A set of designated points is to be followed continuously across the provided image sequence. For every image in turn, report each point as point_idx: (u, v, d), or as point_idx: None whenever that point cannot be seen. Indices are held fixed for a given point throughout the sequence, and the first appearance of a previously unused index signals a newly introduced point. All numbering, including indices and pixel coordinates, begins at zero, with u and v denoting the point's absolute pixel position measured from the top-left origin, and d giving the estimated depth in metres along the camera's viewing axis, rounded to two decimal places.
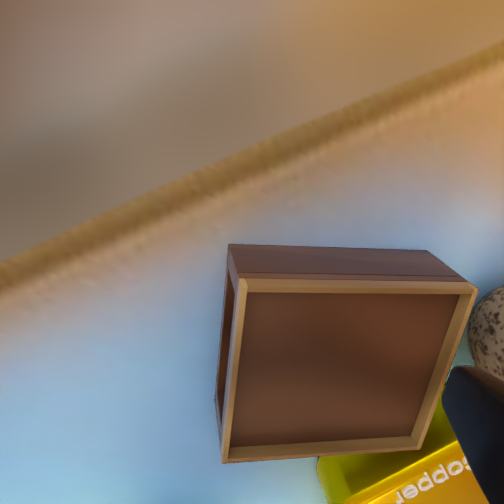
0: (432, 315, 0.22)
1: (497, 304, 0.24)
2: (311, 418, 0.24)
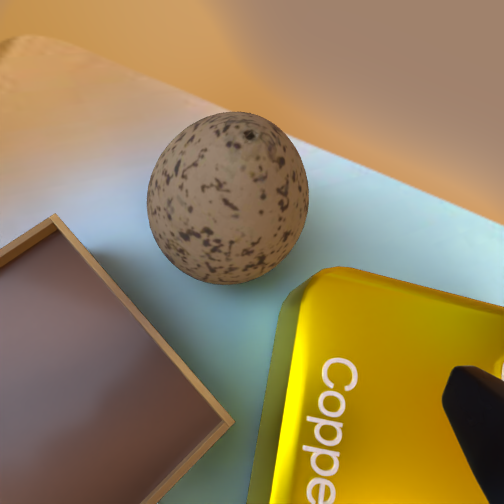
0: (59, 277, 0.17)
1: None
2: None
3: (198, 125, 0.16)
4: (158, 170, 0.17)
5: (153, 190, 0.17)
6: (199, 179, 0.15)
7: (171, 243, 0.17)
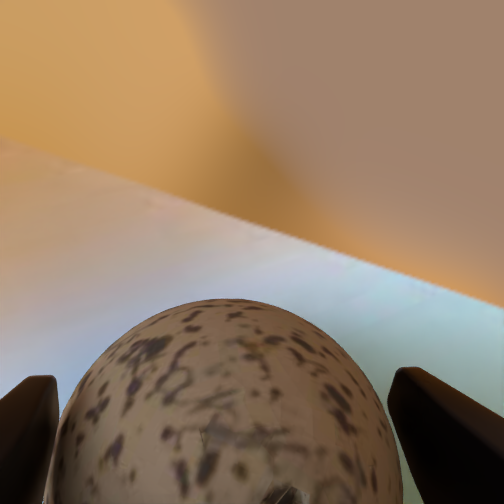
0: None
1: None
2: None
3: (137, 393, 0.06)
4: (52, 472, 0.07)
5: None
6: None
7: None
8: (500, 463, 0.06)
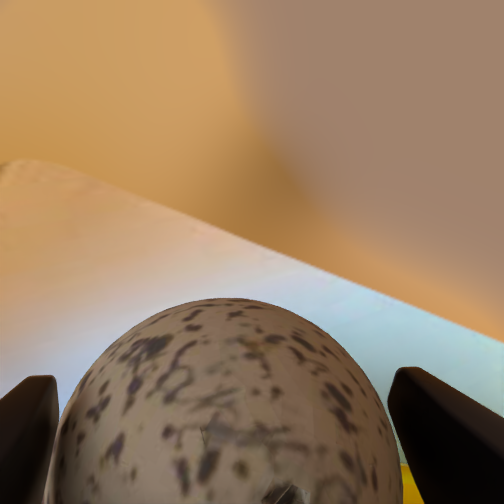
0: (42, 503, 0.14)
1: None
2: None
3: (137, 391, 0.06)
4: (53, 470, 0.07)
5: None
6: None
7: None
8: (500, 463, 0.06)
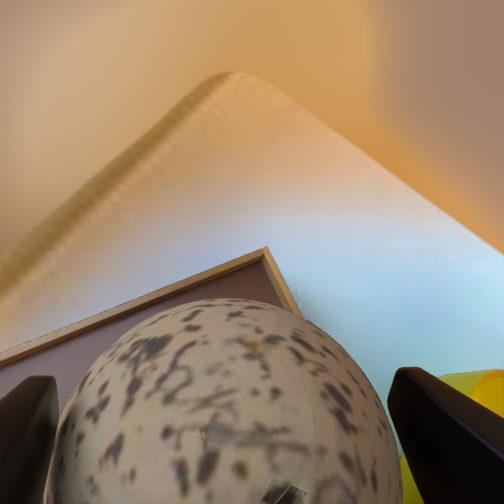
0: None
1: None
2: None
3: (136, 392, 0.06)
4: (52, 471, 0.07)
5: None
6: None
7: None
8: (500, 463, 0.06)
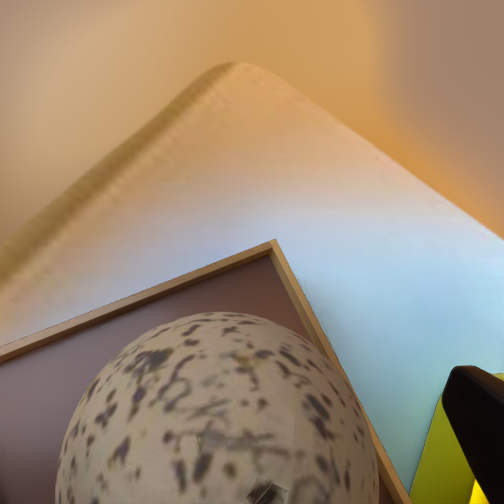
0: (261, 303, 0.17)
1: None
2: None
3: (141, 400, 0.07)
4: (64, 469, 0.08)
5: None
6: None
7: None
8: None
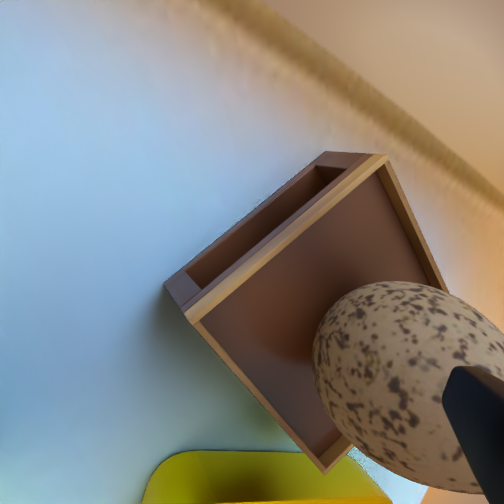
0: None
1: (371, 289, 0.17)
2: (282, 355, 0.20)
3: None
4: (456, 325, 0.14)
5: (430, 323, 0.14)
6: None
7: (374, 359, 0.14)
8: None
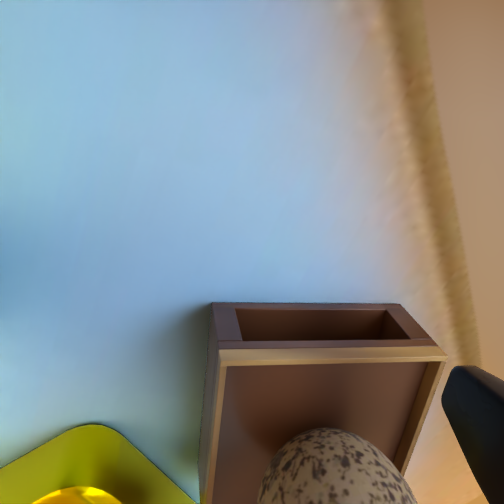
0: None
1: (363, 446, 0.18)
2: (253, 429, 0.21)
3: None
4: None
5: None
6: None
7: None
8: None
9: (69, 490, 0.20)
